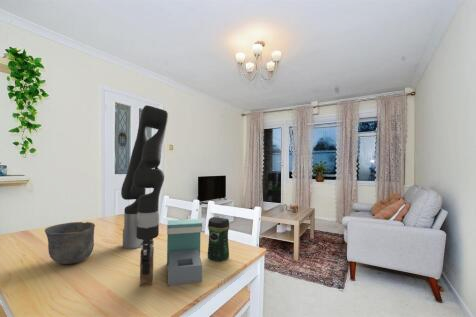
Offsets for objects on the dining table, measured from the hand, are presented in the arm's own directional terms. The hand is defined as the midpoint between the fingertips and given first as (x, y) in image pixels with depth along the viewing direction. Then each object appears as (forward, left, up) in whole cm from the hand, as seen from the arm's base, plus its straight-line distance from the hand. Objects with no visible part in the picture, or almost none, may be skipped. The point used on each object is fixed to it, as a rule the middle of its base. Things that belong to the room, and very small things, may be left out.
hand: (146, 270), depth 83 cm
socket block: (+14, +4, -4) cm, 15 cm away
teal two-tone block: (+14, +11, -4) cm, 18 cm away
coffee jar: (+29, +15, -5) cm, 33 cm away
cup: (-34, +26, -5) cm, 43 cm away
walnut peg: (0, 0, -4) cm, 4 cm away
